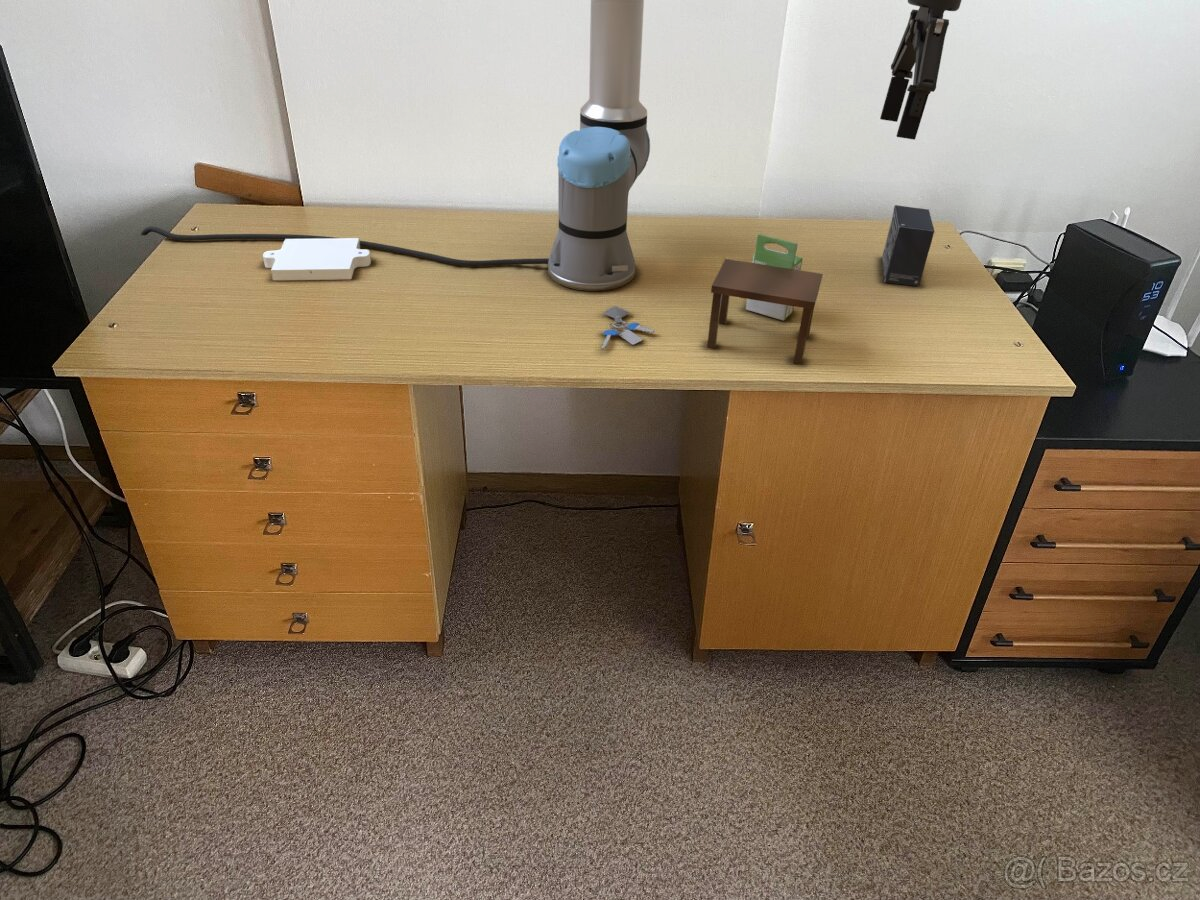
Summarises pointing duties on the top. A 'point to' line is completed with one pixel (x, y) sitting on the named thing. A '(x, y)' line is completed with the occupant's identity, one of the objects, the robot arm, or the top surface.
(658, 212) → the top surface
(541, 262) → the robot arm
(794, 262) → the ink box
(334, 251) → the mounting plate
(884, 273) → the small box
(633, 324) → the key chain
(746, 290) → the side table
